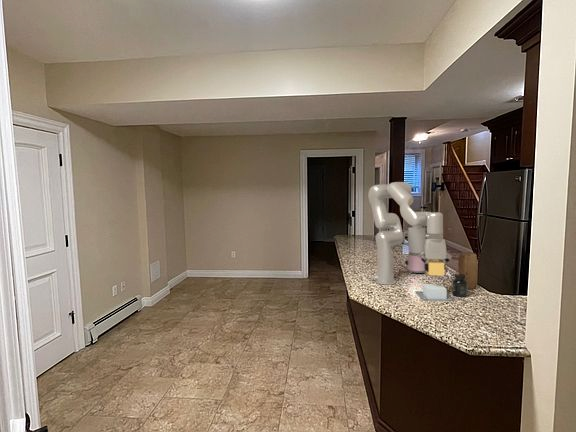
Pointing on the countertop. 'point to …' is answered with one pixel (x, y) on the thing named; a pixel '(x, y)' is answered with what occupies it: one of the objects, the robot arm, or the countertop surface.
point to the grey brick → (434, 291)
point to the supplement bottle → (459, 286)
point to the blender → (415, 249)
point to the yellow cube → (435, 268)
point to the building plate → (424, 298)
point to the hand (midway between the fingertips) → (434, 271)
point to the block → (468, 268)
